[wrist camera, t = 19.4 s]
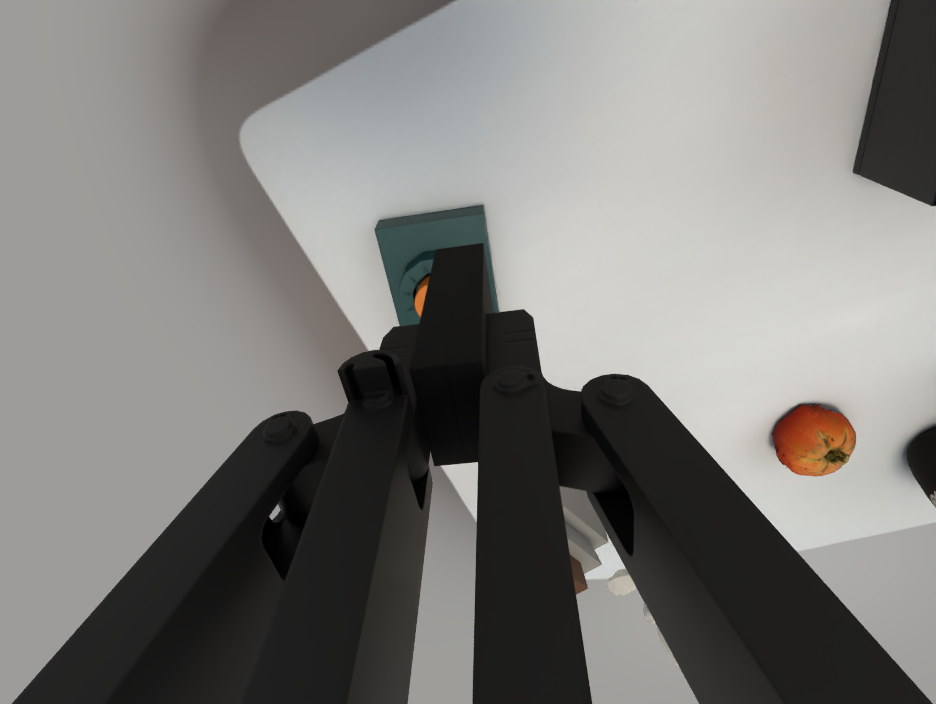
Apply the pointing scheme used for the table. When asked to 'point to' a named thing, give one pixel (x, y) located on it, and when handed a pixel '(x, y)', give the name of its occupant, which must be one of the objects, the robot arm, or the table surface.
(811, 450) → the tomato
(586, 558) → the perfume bottle
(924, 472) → the mug
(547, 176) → the table surface
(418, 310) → the button
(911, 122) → the compartment
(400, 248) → the control block
